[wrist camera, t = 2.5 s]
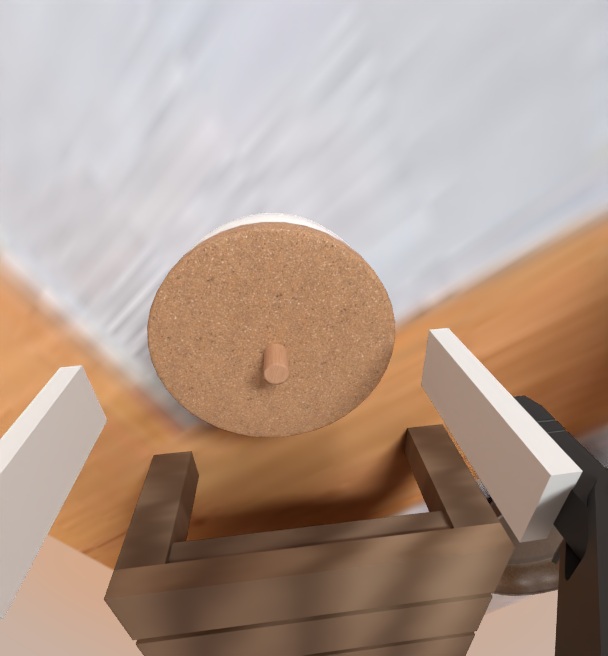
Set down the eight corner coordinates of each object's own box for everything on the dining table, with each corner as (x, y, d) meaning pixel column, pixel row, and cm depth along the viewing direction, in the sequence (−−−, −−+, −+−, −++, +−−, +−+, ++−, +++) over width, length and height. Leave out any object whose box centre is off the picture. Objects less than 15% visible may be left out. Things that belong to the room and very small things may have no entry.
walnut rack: (442, 424, 30) (514, 547, 21) (412, 571, 41) (451, 687, 33) (153, 455, 28) (103, 599, 20) (209, 597, 40) (193, 725, 32)
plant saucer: (585, 418, 31) (617, 447, 28) (670, 496, 39) (702, 526, 36) (413, 533, 38) (425, 566, 35) (515, 580, 46) (531, 610, 43)
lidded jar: (382, 220, 21) (457, 279, 12) (328, 365, 25) (357, 476, 17) (195, 169, 18) (138, 201, 10) (176, 339, 23) (128, 452, 15)
